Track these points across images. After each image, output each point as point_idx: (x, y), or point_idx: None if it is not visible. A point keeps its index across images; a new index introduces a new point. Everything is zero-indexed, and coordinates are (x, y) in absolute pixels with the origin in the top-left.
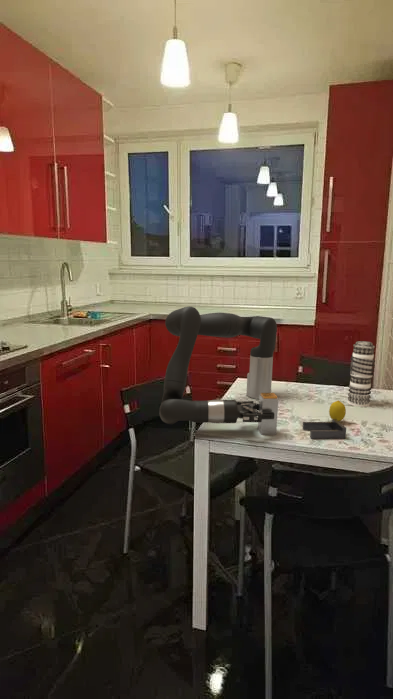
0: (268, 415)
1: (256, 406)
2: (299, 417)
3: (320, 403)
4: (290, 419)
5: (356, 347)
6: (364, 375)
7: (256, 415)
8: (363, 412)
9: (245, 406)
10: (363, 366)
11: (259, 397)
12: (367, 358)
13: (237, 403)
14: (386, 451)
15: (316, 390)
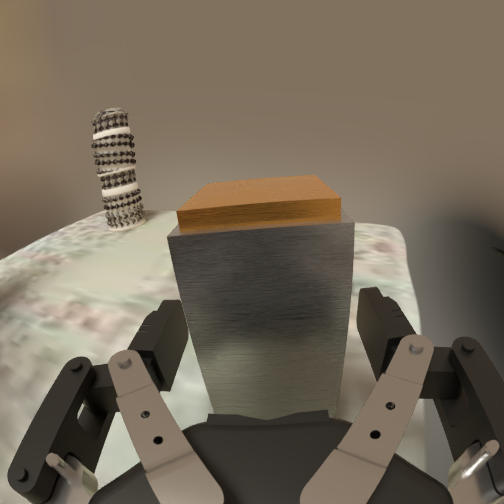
0: (402, 321)
1: (152, 370)
2: (143, 294)
3: (89, 254)
4: (148, 314)
5: (105, 118)
6: (130, 165)
7: (494, 372)
8: (170, 224)
9: (311, 485)
10: (125, 148)
11: (181, 270)
12: (127, 132)
13: (38, 496)
14: (377, 224)
15: (38, 251)
